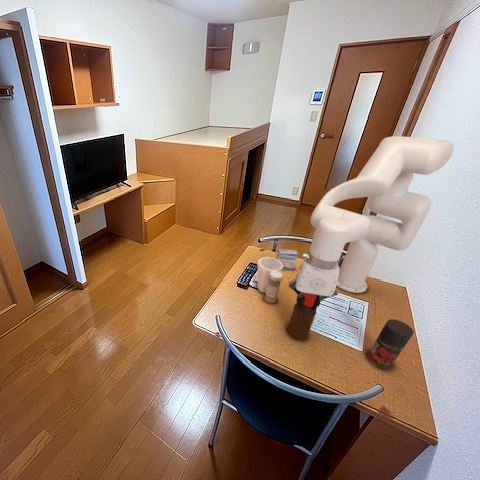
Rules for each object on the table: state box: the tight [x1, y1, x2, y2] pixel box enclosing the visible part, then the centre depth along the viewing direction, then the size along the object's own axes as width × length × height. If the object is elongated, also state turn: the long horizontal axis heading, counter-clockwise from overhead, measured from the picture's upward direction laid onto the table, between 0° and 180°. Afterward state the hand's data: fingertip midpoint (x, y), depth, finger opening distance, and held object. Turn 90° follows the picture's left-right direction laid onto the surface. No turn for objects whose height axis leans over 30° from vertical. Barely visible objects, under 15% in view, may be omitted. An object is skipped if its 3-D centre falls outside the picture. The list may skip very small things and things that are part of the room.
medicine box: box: [275, 248, 299, 270], centre depth 121 cm, size 8×4×9 cm, turn 81°
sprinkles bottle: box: [263, 271, 283, 304], centre depth 102 cm, size 5×5×14 cm
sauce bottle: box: [286, 302, 317, 341], centre depth 86 cm, size 6×6×18 cm
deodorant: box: [367, 318, 414, 370], centre depth 77 cm, size 6×6×15 cm
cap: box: [303, 293, 317, 307], centre depth 82 cm, size 4×4×3 cm
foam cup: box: [256, 256, 284, 294], centre depth 108 cm, size 10×9×13 cm
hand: (306, 305), depth 84 cm, fingers closed on cap, 3 cm apart
